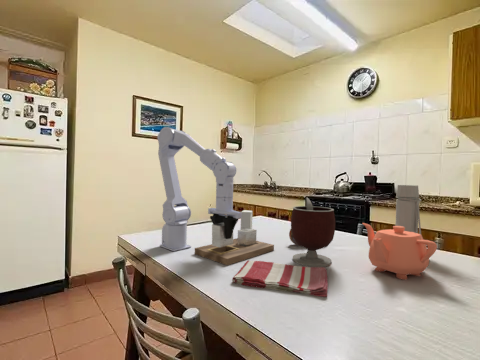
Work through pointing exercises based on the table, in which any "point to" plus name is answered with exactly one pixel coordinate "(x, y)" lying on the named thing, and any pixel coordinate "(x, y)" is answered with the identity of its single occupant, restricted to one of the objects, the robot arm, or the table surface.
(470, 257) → the table surface
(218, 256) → the board
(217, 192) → the robot arm
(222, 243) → the block
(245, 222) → the skincare box
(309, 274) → the dish towel
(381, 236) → the teapot
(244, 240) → the block
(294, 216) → the mate gourd
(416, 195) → the water bottle
